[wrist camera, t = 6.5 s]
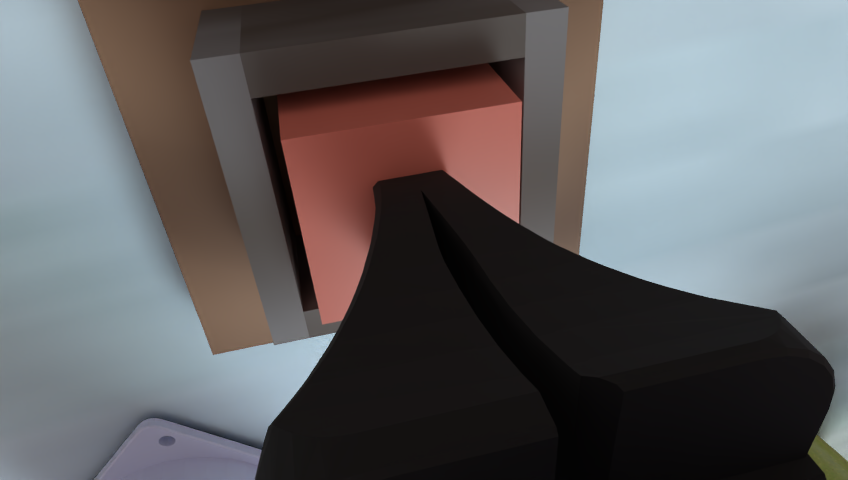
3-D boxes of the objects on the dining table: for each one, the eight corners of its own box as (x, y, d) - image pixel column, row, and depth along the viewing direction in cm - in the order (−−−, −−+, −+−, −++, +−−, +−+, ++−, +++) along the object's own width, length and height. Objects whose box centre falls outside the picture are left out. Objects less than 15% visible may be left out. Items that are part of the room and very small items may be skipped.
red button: (274, 76, 13) (280, 140, 10) (473, 47, 13) (521, 101, 11) (310, 242, 15) (322, 324, 13) (477, 211, 16) (517, 284, 13)
